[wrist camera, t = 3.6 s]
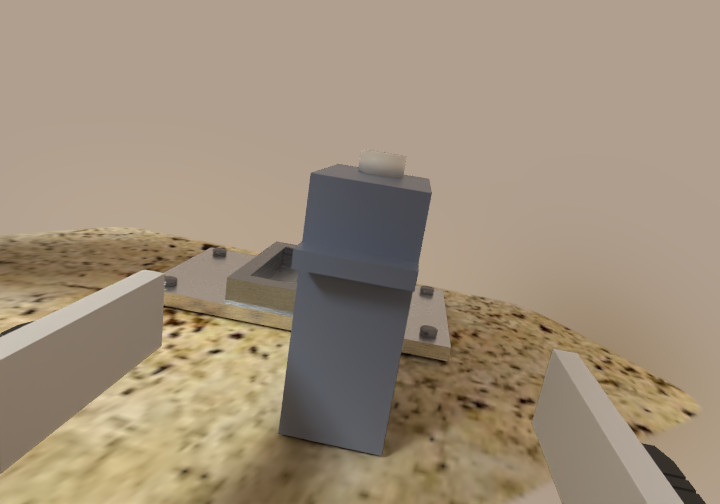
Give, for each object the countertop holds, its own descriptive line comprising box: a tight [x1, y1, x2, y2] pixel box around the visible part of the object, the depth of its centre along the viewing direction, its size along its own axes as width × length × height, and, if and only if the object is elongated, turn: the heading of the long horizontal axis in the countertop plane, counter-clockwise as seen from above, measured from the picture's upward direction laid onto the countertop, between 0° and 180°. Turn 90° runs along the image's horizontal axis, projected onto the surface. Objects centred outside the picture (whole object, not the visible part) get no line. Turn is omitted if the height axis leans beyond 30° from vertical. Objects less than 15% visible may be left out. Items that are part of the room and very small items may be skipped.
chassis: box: [163, 242, 451, 361], centre depth 38 cm, size 22×12×3 cm, turn 83°
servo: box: [279, 149, 432, 456], centre depth 23 cm, size 5×9×13 cm, turn 173°
